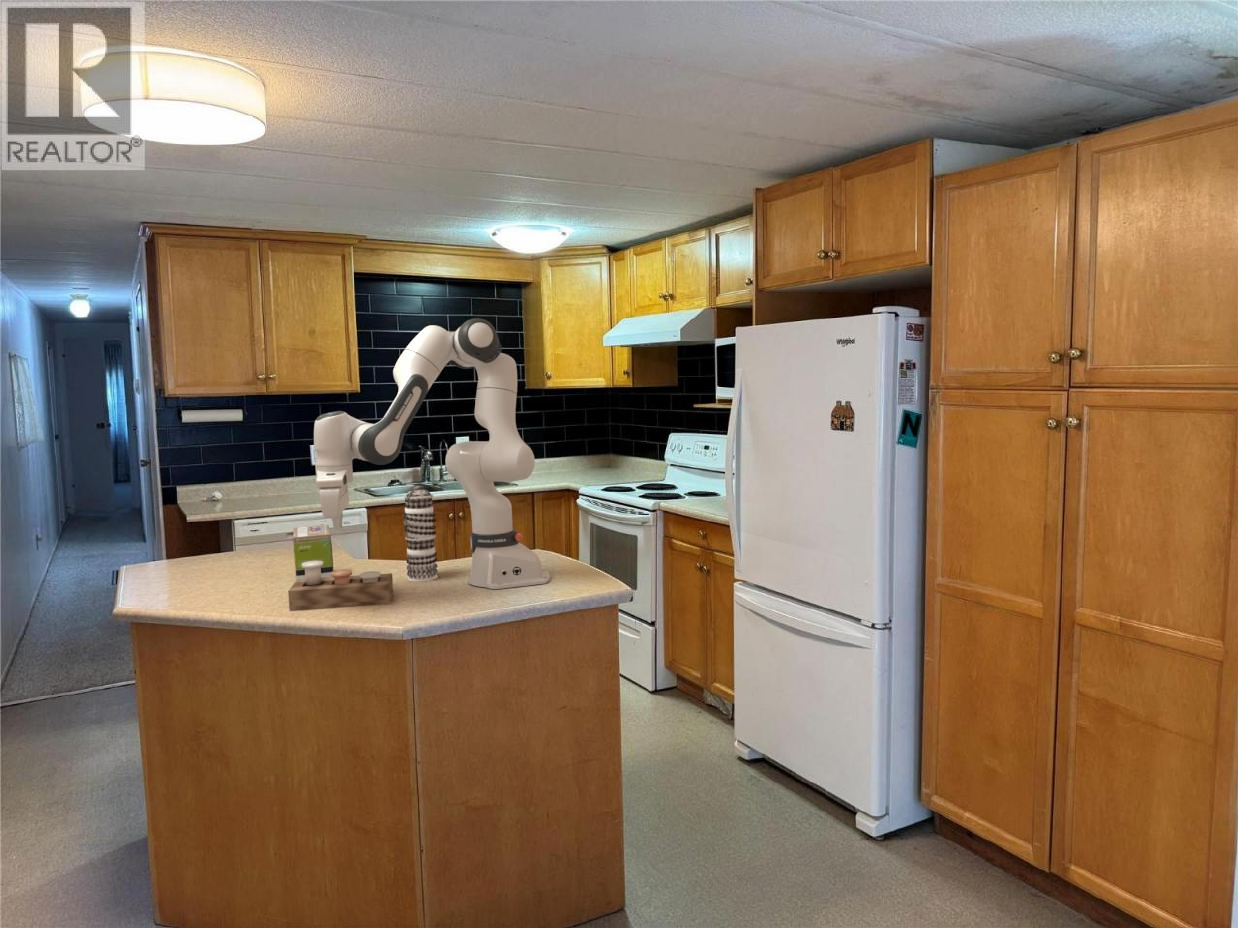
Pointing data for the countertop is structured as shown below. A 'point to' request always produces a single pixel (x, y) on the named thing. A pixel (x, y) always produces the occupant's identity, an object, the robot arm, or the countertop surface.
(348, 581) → the terracotta plug
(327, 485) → the robot arm
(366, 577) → the grey plug
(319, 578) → the grey plug
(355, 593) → the socket board
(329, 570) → the tea box
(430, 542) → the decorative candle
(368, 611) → the countertop surface
